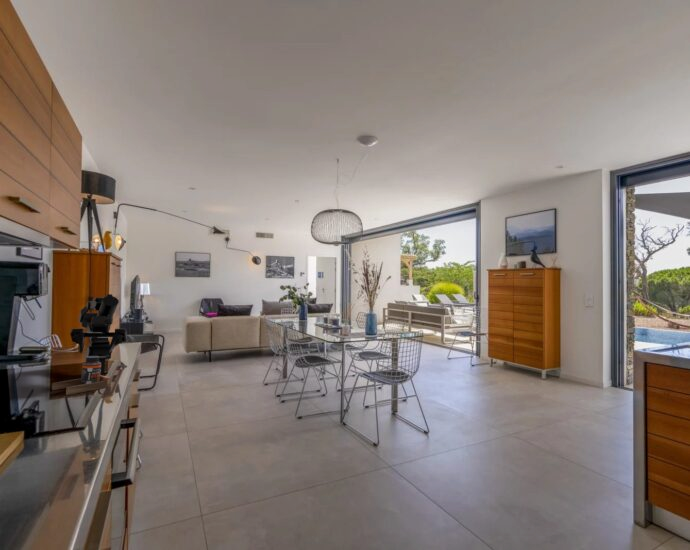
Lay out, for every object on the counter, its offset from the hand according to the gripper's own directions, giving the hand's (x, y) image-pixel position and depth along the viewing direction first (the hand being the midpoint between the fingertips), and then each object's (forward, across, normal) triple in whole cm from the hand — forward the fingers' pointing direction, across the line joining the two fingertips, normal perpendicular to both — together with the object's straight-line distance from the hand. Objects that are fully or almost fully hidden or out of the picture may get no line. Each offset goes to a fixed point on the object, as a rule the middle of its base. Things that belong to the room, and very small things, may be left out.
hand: (94, 352), depth 142 cm
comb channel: (+13, -3, +4) cm, 14 cm away
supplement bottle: (+12, 0, +6) cm, 13 cm away
